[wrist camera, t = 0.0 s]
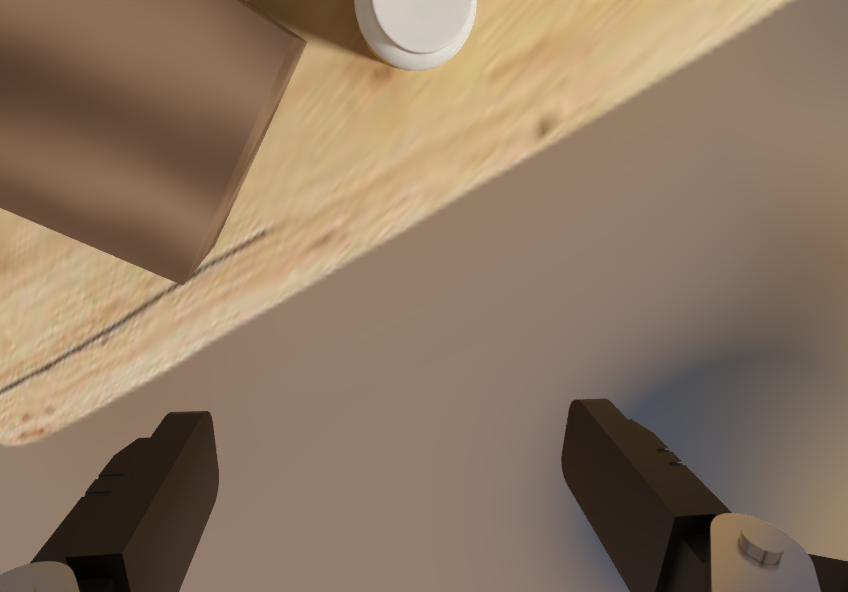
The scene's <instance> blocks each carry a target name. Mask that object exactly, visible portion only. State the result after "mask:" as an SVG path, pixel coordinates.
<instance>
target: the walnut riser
mask: <svg viewBox="0 0 848 592" xmlns="http://www.w3.org/2000/svg"><path fill="white" fill-rule="evenodd" d="M306 43H307V41H305V40H304V39H302V38H300V37H299V36H297V35H296V34H294V33H293V32H291V31H290V30H288V29H287V28H285V27H284V26H282V25H281V24H279V23H278V22H276V21H274V20H273V19H271V18H270V17H268V16H267V15H265V14H264V13H262V12H261V11H259V10H258V9H256V8H255V7H253V6H251V5H250V4H248V3H247V2H245V1H244V0H0V208H2V209H4V210H7V211H9V212H12V213H14V214H16V215H19V216H21V217H23V218H26V219H28V220H30V221H33V222H35V223H37V224H40V225H42V226H45V227H47V228H49V229H52V230H54V231H56V232H59V233H61V234H63V235H66V236H68V237H70V238H73V239H75V240H78V241H80V242H82V243H85V244H87V245H89V246H92V247H94V248H96V249H99V250H101V251H103V252H106V253H108V254H111V255H113V256H115V257H118V258H120V259H122V260H125V261H127V262H129V263H132V264H134V265H136V266H139V267H141V268H143V269H146V270H148V271H151V272H153V273H155V274H158V275H160V276H162V277H165V278H167V279H169V280H172V281H174V282H176V283H179V284H181V285H184V284H185V282H186V281H187V280H188V279H189V277H190V276H191V275H192V274H193V272H194V271H195V270H196V269H197V267H198V266H199V265H200V264H201V262H202V261H203V260H204V259H205V257H206V256H207V255H208V254H209V252H210V251H211V250H212V249H213V247H214V246H215V244H216V242H217V239H218V237H219V235H220V233H221V230H222V228H223V226H224V224H225V222H226V219H227V217H228V215H229V213H230V211H231V208H232V206H233V204H234V202H235V200H236V197H237V195H238V193H239V191H240V189H241V186H242V184H243V182H244V180H245V178H246V175H247V173H248V171H249V169H250V167H251V164H252V162H253V160H254V158H255V156H256V153H257V151H258V149H259V147H260V145H261V142H262V140H263V138H264V136H265V134H266V131H267V129H268V127H269V125H270V123H271V120H272V118H273V116H274V114H275V112H276V109H277V107H278V105H279V103H280V101H281V98H282V96H283V94H284V92H285V90H286V87H287V85H288V83H289V81H290V79H291V76H292V74H293V72H294V70H295V67H296V65H297V63H298V61H299V59H300V56H301V54H302V52H303V50H304V48H305V45H306Z"/></svg>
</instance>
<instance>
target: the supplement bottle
mask: <svg viewBox="0 0 848 592" xmlns="http://www.w3.org/2000/svg"><path fill="white" fill-rule="evenodd" d="M354 6H355V15H356V18H357V22H358V26H359V29H360V33H361V35H362V38H363V40H364V42H365V44H366V45H367V47H368V48H369V50H370V51H371V52H372V53H373V54H374V55H375V56H376V57H377V58H378V59H379V60H381V61H382V62H384V63H385V64H387V65H389V66H392V67H395V68H399V69H403V70H409V71H423V70H428V69H432V68H435V67H437V66H440V65H441V64H443V63H445V62H447V61H448V60H449V59H450V58H452V57H453V56H454V55H455V54H456V53H457V52H458V51H459V50H460V49H461V47H462V46H463V44H464V43H465V41H466V40H467V38H468V36H469V34H470V32H471V29H472V26H473V23H474V19H475V15H476V8H477V0H354Z"/></svg>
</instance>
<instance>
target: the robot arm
mask: <svg viewBox="0 0 848 592" xmlns="http://www.w3.org/2000/svg"><path fill="white" fill-rule="evenodd" d="M561 458H562V459H561V461H562V471H563V475H564V478H565V481H566V483H567V485H568V487H569V488H570V490H571V492H572V494H573V495H574V497H575V499H576V500H577V502H578V504H579V505H580V507H581V509H582V511H583V512H584V514H585V515H586V517H587V519H588V521H589V522H590V524H591V526H592V527H593V529H594V531H595V533H596V534H597V536H598V538H599V539H600V541H601V543H602V544H603V546H604V548H605V549H606V551H607V553H608V555H609V556H610V558H611V560H612V562H613V563H614V565H615V567H616V568H617V570H618V572H619V573H620V575H621V577H622V579H623V580H624V582H625V584H626V585H627V587H628V589H629V590H630V592H848V561H843V560H837V559H832V558H827V557H822V556H817V555H811V554H808V553H807V552H806V551H805V550H804V548H803V547H802V546H801V545H800V544H799V543H798V542H797V541H795V540H794V539H793V538H792V537H791V536H789V535H788V534H787V533H785V532H784V531H782V530H781V529H779V528H777V527H775V526H773V525H771V524H770V523H768V522H765V521H763V520H761V519H758V518H755V517H752V516H749V515H744V514H738V513H732V512H731V511H730V510H728V508H727V507H726V506H725V505H724V504H723V503H722V502H721V501H720V500H719V499H718V498H717V497H716V496H715V495H714V494H713V493H712V492H711V491H710V490H709V489H708V488H707V487H706V486H705V485H704V484H703V483H702V482H701V481H700V480H699V479H698V478H697V477H696V476H695V475H694V474H693V473H692V472H691V471H690V470H689V469H688V468H687V467H686V466H685V465H682V461H681V460H679V458H678V457H677V456H676V455H675V454H674V453H673V452H669V448H668V447H667V446H666V445H665V444H664V443H663V442H662V441H661V440H660V439H659V438H658V437H657V436H656V435H655V434H654V433H653V432H651V431H650V430H648V429H646V428H645V427H643V426H641V425H640V424H638V423H636V422H635V421H633V420H632V419H631V420H627V418H626V417H625V416H624V415H623V414H622V413H621V412H620V411H619V410H618V409H617V408H616V407H615V406H614V405H613V404H612V403H611V402H610V401H609V400H608V399H582V400H581V399H580V400H574V401H573V402H572V403H571V405H570V408H569V413H568V419H567V425H566V432H565V437H564V444H563V450H562V457H561ZM218 485H219V469H218V462H217V453H216V445H215V437H214V429H213V421H212V416H211V414H210V412H208V411H192V412H170V413H168V414H167V415H166V416H165V418H164V419H163V420H162V422H161V423H160V425H159V426H158V428H157V429H156V430H155V432H154V433H153V434H152V436H151V437H150V438H138V439H137V440H135V441H134V442H132V443H131V444H130V445H128V446H127V447H125V448H124V449H123V450H121V451H120V452H119V453H117V454H116V455H114V456H113V458H112V459H111V460H110V462H109V463H108V464H107V465H106V467H105V468H104V469H103V471H102V472H101V473H100V474H99V478H98V479H96V480H95V481H94V482H93V483H92V485H91V486H90V487H89V488H88V490H87V491H86V494H85V497H81V499H80V500H79V501H78V502H77V504H76V505H75V507H74V508H73V509H72V510H71V511H70V513H69V514H68V515H67V516H66V518H65V519H64V520H63V522H62V523H61V524H60V525H59V527H58V528H57V529H56V531H55V532H54V533H53V534H52V536H51V537H50V538H49V539H48V541H47V542H46V543H45V545H44V546H43V547H42V548H41V550H40V551H39V552H38V554H37V555H36V556H35V557H34V559H33V560H32V561H31V562H30V564H27V565H24V566H20V567H17V568H14V569H12V570H9V571H7V572H5V573H3V574H1V575H0V592H179V590H180V588H181V585H182V583H183V580H184V578H185V575H186V573H187V570H188V568H189V566H190V563H191V560H192V558H193V556H194V553H195V551H196V548H197V546H198V543H199V541H200V538H201V536H202V534H203V531H204V528H205V526H206V523H207V521H208V519H209V516H210V514H211V511H212V509H213V506H214V504H215V501H216V497H217V492H218Z"/></svg>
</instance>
